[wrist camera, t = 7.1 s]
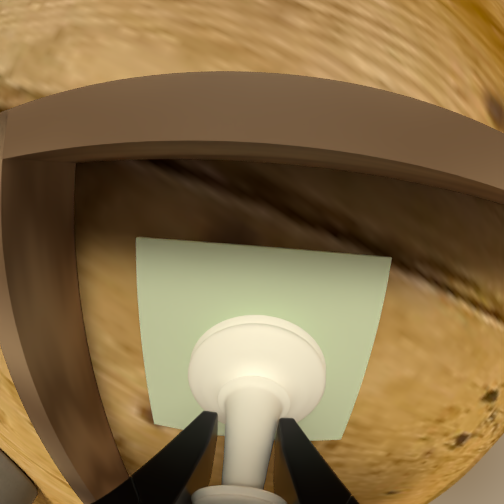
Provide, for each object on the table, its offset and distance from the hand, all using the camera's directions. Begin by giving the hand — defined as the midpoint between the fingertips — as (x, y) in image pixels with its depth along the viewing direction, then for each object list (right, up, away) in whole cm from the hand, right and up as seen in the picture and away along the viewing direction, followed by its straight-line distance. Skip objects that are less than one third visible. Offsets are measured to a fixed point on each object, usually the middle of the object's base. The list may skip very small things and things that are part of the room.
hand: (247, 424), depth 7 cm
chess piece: (0, +1, +3) cm, 3 cm away
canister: (-30, -21, +10) cm, 38 cm away
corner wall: (+2, -1, +4) cm, 4 cm away
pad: (0, +1, +3) cm, 3 cm away
